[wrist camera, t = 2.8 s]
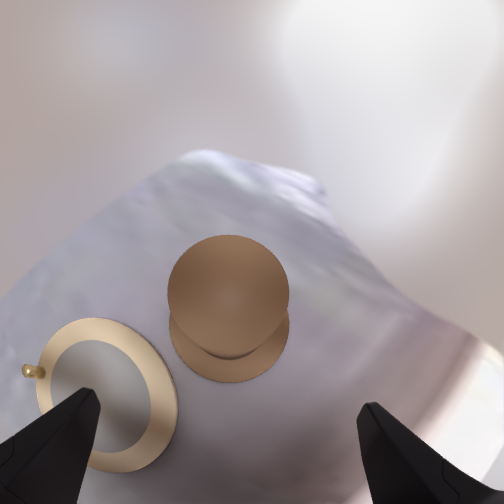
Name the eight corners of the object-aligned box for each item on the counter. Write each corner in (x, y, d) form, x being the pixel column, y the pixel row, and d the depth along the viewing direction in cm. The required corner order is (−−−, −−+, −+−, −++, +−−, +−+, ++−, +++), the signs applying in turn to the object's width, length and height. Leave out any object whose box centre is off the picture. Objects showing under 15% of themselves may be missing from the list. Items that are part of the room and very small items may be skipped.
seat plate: (168, 489, 14) (158, 504, 11) (37, 433, 14) (16, 436, 11) (190, 340, 19) (183, 334, 16) (58, 304, 19) (38, 294, 16)
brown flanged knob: (278, 387, 18) (316, 397, 10) (164, 370, 18) (116, 366, 10) (289, 281, 21) (325, 220, 13) (184, 266, 21) (159, 197, 13)
